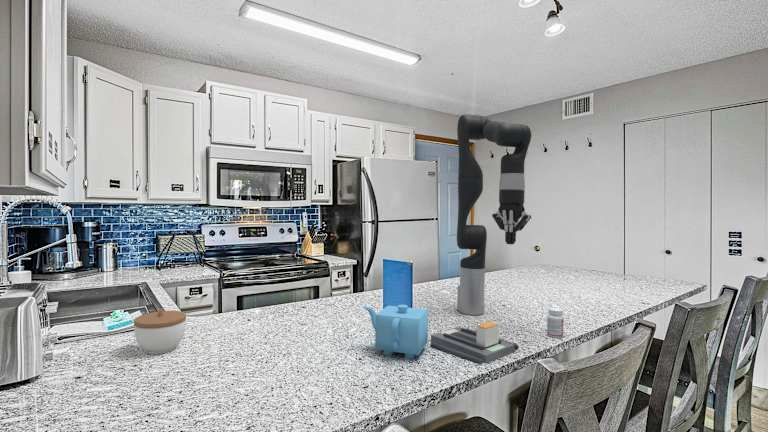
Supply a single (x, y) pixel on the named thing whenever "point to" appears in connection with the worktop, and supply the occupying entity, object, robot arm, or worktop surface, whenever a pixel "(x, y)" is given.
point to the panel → (471, 344)
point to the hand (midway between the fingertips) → (510, 244)
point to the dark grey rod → (505, 341)
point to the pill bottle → (555, 323)
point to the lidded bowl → (160, 330)
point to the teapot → (400, 329)
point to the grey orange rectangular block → (487, 334)
